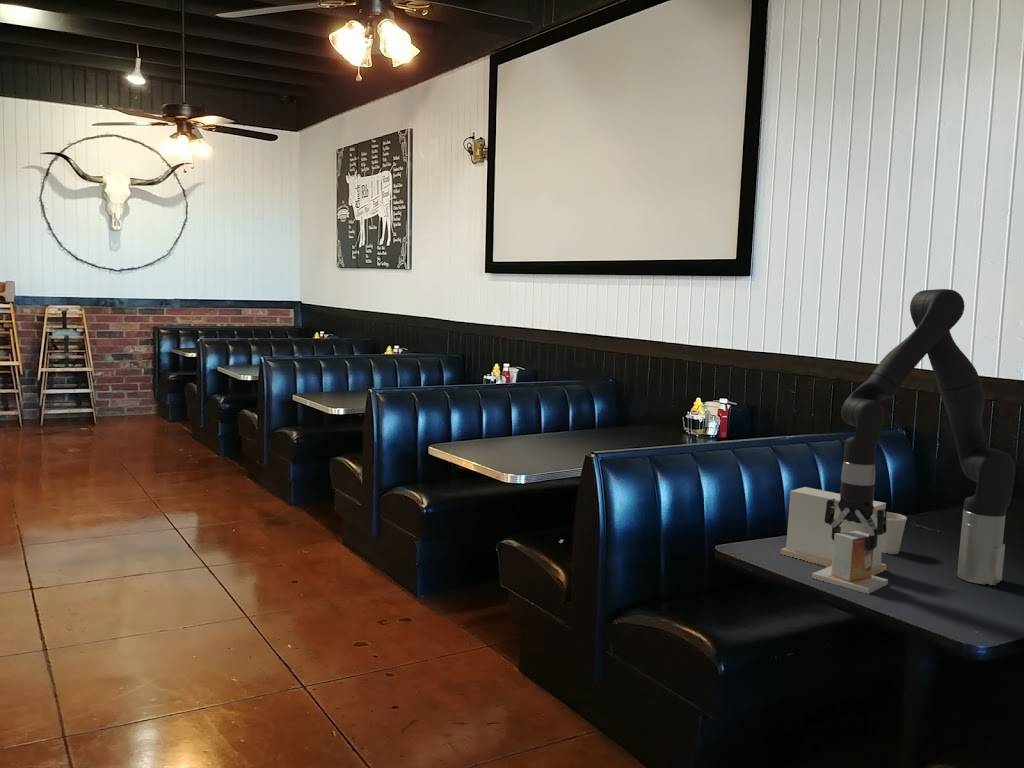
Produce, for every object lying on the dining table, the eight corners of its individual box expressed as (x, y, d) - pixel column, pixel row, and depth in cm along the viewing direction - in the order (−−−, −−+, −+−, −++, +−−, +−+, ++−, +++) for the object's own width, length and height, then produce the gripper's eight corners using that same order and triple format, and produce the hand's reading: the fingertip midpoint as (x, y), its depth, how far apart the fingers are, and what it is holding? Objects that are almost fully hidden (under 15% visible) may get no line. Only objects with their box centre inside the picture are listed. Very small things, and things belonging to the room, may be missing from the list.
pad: (887, 584, 209) (888, 579, 209) (868, 593, 201) (868, 588, 201) (832, 569, 219) (832, 564, 219) (811, 578, 211) (812, 573, 211)
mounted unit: (885, 570, 220) (891, 503, 218) (868, 578, 213) (874, 509, 211) (798, 547, 237) (803, 485, 235) (780, 554, 230) (785, 490, 228)
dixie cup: (897, 547, 241) (901, 512, 240) (908, 556, 233) (911, 520, 232) (867, 545, 242) (870, 511, 241) (876, 554, 234) (879, 518, 233)
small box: (849, 582, 205) (852, 539, 204) (830, 574, 210) (833, 532, 209) (871, 577, 209) (875, 535, 208) (853, 570, 214) (856, 529, 213)
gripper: (894, 483, 205) (889, 549, 207) (836, 473, 215) (832, 536, 217) (880, 488, 200) (876, 556, 201) (822, 477, 210) (818, 542, 211)
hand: (853, 546), depth 209 cm, fingers open, 8 cm apart
